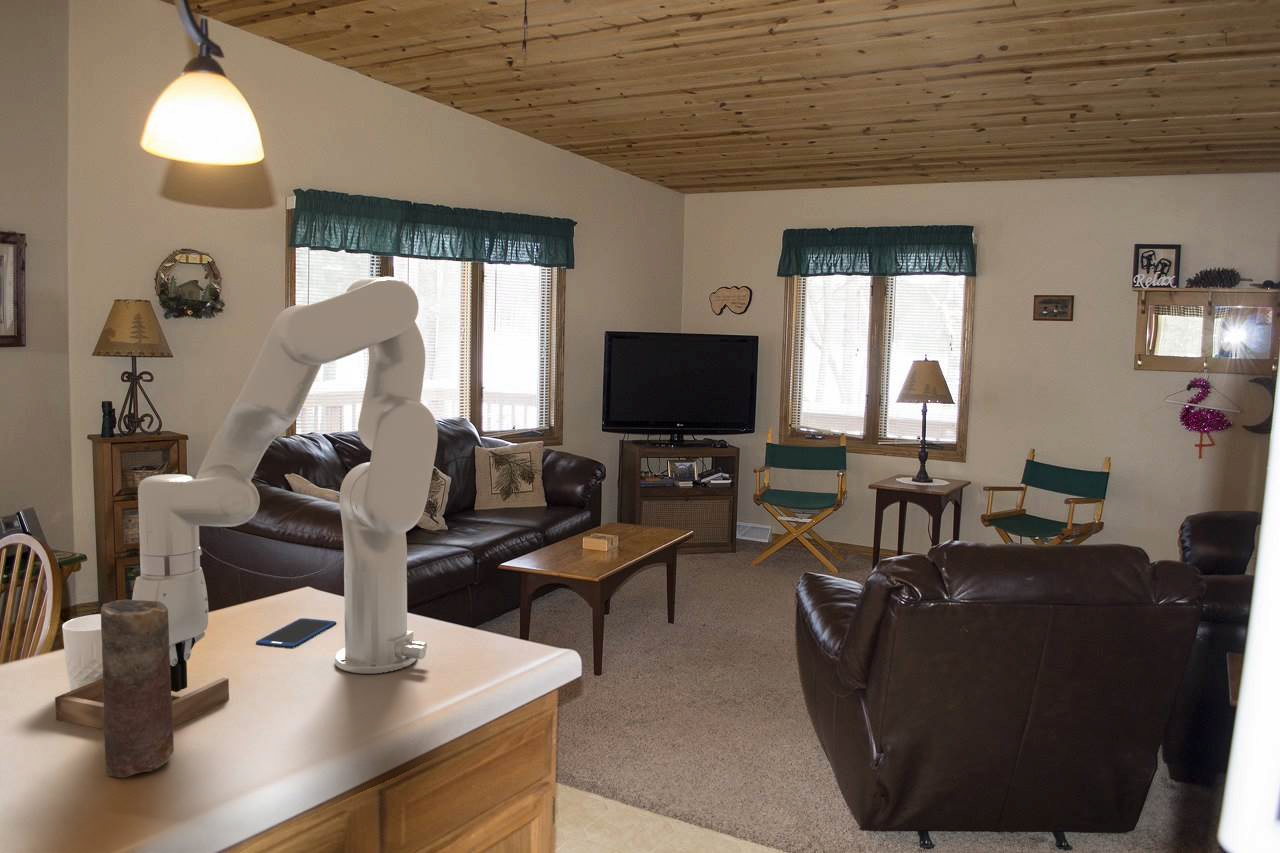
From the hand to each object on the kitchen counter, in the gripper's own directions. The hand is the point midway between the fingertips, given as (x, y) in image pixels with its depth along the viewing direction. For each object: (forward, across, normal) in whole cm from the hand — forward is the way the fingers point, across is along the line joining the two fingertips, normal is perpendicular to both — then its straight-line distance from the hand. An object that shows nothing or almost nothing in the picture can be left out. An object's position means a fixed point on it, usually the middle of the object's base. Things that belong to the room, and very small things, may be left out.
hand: (174, 688), depth 138 cm
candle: (+1, +18, +13) cm, 22 cm away
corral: (+1, +5, 0) cm, 5 cm away
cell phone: (+2, -29, -2) cm, 29 cm away
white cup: (+1, +2, -12) cm, 12 cm away
